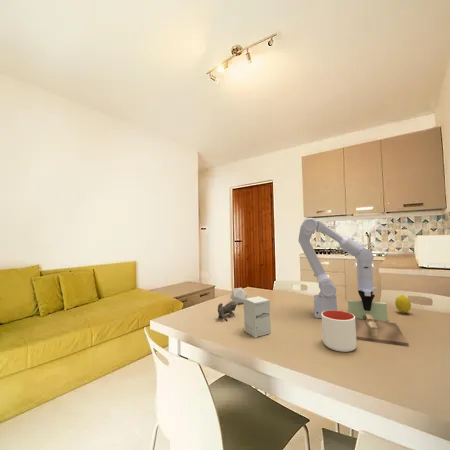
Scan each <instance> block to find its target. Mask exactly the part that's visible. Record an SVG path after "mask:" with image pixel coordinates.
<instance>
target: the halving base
mask: <svg viewBox="0 0 450 450" xmlns="http://www.w3.org/2000/svg"><path fill="white" fill-rule="evenodd" d="M355 324H356V340H357V341H358V340H360V341H365V342H372V343H373V342H374V343H380V344H381V343H383V344H390V345H395V346H396V345H397V346H405V347H409V346H410V344H409V341H408V340H407V339H406V337H405V335H404V334H403V333H402V331H401V329H400V328H399V325H398V324H397V323H396V322H389V321H378V320H374V318H373V316H372V315H371V314H366V315H365V319H358V318H355Z"/></svg>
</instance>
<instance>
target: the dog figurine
mask: <svg viewBox="0 0 450 450" xmlns="http://www.w3.org/2000/svg"><path fill="white" fill-rule="evenodd" d="M236 308H237V304H236V303H235V302H234V301H231V302H229V303H226V304H225V305H224V306H223V302H220V303H219V304H218V306H217V315H218V317H217V318H218V319H221V317H222V319H223V321H225V320H228V319H227V318H226V317H225V315H227V317H229V318H233V317H232V316H235V311H236Z"/></svg>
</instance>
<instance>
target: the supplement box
mask: <svg viewBox="0 0 450 450" xmlns="http://www.w3.org/2000/svg"><path fill="white" fill-rule="evenodd" d="M270 305H271V303H270V299H268V298H265V297H262V296H259V295H258V296H253V297H246V299H244V303H243V319H244V325H243V326H244V332H245V331H246V332H245V333H247V332H248V333H249V334H248V333H247V334H248V335H250V334H251V335H252V336H251V335H250V336H251V337H253V336H254V337H253V338H255V337H256V338H258V336H259V337H263V336H264V335H265V336H266V335H269V334H271V333H272V331H271V329H272V327H271V326H272V325H271V308H270V307H271V306H270Z"/></svg>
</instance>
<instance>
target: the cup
mask: <svg viewBox="0 0 450 450" xmlns="http://www.w3.org/2000/svg"><path fill="white" fill-rule="evenodd" d="M321 316H322V318H321V332H322V333H321V334H322V342H323V344H324V345H325V346H326V347H327V348H329V349H330V350H333V351H337V352H341V353H342V352H343V353H345V352H347V353H348V352H351V351H354V350H355V349H356V348H357V343H358V342H357V339H356V324H355V319H356V318H355V316H354V315H353V314H351V313H348V311H345V310H338V309H337V310H328V311H324V312H322V313H321Z"/></svg>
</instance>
